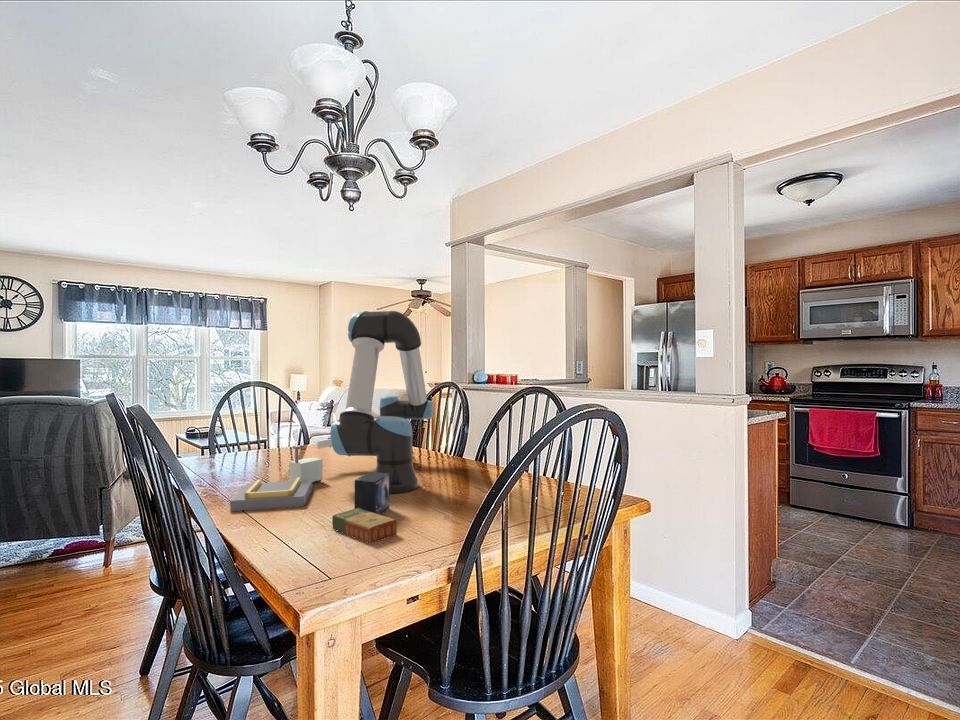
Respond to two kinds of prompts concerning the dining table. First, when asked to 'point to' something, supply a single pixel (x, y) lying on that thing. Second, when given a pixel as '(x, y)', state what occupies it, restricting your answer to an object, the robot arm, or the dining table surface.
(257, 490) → the dock
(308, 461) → the plunger detonator box
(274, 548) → the dining table surface
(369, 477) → the small box
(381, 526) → the carton
